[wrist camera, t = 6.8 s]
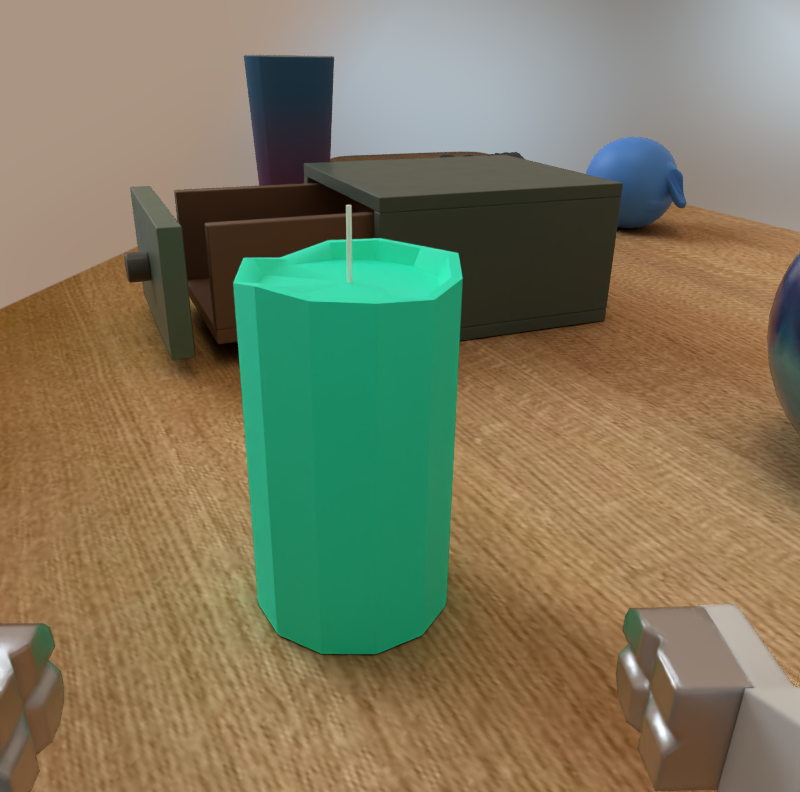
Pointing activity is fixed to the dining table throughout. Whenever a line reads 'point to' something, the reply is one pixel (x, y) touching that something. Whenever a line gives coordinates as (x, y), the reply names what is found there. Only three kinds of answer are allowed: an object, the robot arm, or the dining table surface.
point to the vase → (786, 343)
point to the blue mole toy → (640, 179)
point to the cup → (289, 114)
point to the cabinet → (497, 232)
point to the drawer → (225, 247)
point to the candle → (350, 436)
